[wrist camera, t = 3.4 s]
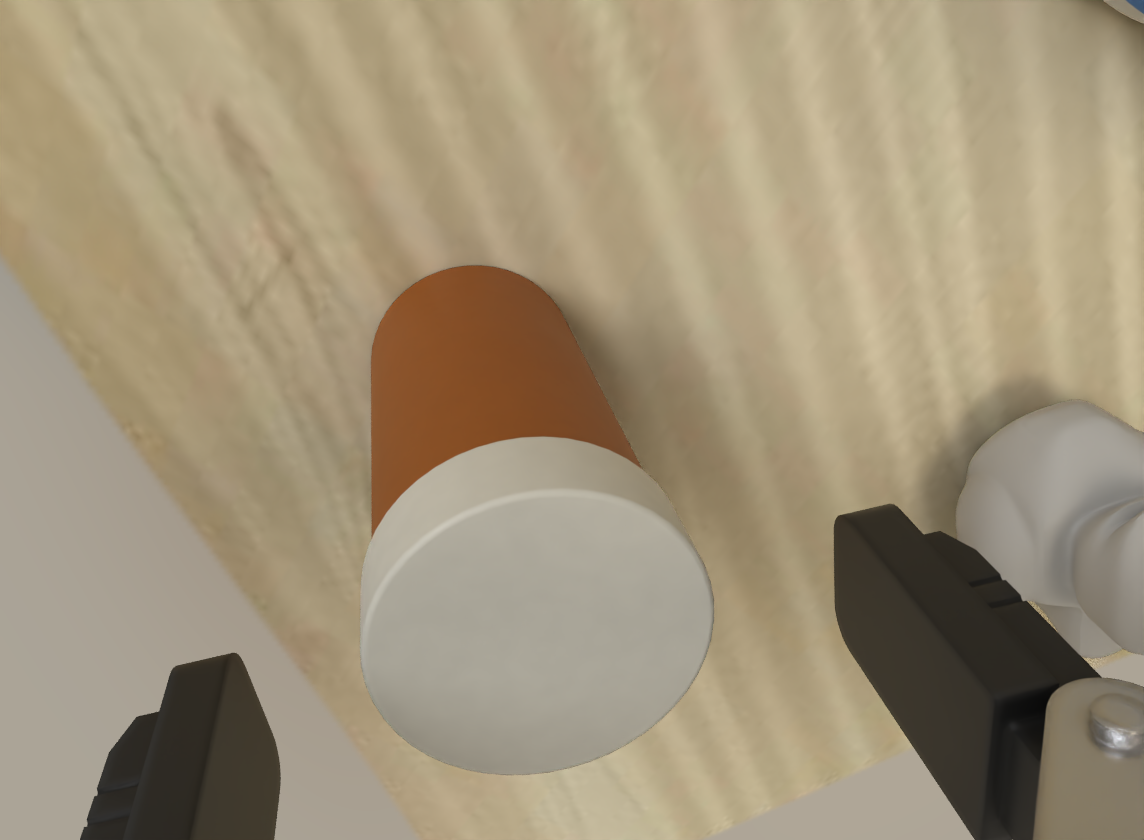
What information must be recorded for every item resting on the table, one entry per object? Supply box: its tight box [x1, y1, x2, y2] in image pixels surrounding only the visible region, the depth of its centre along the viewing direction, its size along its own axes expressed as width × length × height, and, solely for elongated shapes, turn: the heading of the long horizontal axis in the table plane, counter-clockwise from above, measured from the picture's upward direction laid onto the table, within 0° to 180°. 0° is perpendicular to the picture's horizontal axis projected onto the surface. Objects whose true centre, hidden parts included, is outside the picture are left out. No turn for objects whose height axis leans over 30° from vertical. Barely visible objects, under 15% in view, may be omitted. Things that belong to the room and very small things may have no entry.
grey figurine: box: [956, 400, 1144, 658], centre depth 22 cm, size 5×7×8 cm
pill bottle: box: [360, 266, 714, 775], centre depth 16 cm, size 5×5×10 cm
